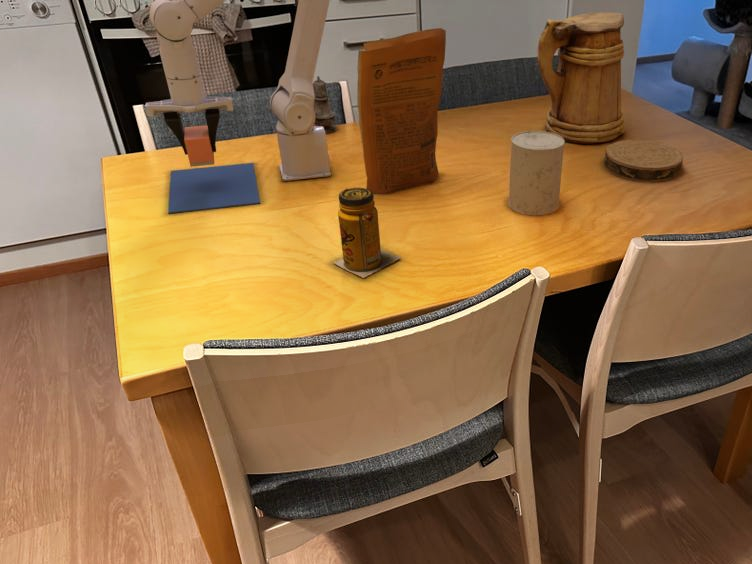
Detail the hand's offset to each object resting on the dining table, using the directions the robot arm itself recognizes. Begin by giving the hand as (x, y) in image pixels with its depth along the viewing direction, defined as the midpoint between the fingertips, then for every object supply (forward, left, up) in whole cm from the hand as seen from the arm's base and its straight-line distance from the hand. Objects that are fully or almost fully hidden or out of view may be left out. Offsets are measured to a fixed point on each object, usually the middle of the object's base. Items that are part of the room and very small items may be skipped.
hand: (200, 151), depth 130 cm
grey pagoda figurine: (-26, -27, -8) cm, 38 cm away
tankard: (-82, -10, -8) cm, 83 cm away
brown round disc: (-87, +13, -8) cm, 88 cm away
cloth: (-1, 0, -7) cm, 7 cm away
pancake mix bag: (-37, +9, -8) cm, 39 cm away
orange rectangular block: (0, 0, -1) cm, 1 cm away
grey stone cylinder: (-58, +24, -8) cm, 63 cm away
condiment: (-24, +37, -8) cm, 45 cm away
